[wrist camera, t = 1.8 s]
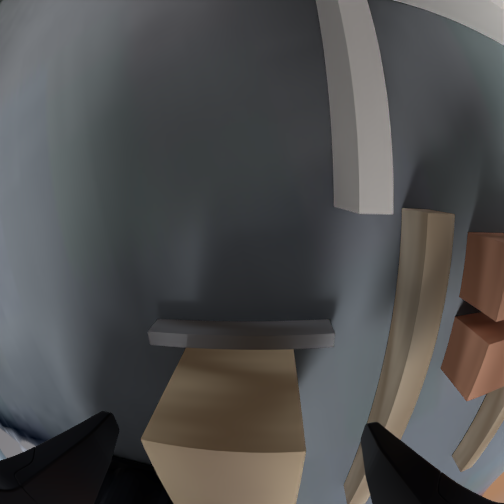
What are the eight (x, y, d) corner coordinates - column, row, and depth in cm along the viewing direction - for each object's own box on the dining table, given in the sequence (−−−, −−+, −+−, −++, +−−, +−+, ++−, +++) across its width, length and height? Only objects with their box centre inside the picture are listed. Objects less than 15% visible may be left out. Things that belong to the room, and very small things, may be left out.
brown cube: (439, 367, 11) (466, 401, 8) (454, 315, 11) (489, 344, 8) (478, 357, 11) (506, 385, 8) (492, 308, 10) (526, 332, 8)
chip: (458, 295, 10) (495, 321, 8) (466, 231, 10) (510, 245, 7) (496, 290, 10) (532, 311, 7) (505, 232, 10) (545, 244, 7)
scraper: (174, 400, 12) (134, 494, 6) (158, 318, 11) (85, 411, 5) (319, 403, 12) (338, 508, 6) (329, 319, 11) (373, 428, 5)
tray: (333, 206, 10) (359, 213, 7) (309, -27, 8) (317, -67, 5) (558, 221, 9) (590, 229, 6) (536, 57, 7) (563, 48, 4)
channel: (343, 485, 14) (347, 506, 12) (401, 207, 10) (427, 213, 8) (462, 451, 13) (471, 466, 11) (540, 218, 9) (564, 224, 7)
